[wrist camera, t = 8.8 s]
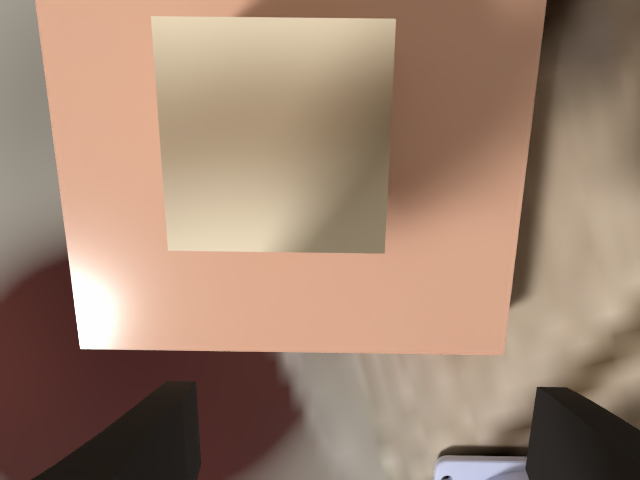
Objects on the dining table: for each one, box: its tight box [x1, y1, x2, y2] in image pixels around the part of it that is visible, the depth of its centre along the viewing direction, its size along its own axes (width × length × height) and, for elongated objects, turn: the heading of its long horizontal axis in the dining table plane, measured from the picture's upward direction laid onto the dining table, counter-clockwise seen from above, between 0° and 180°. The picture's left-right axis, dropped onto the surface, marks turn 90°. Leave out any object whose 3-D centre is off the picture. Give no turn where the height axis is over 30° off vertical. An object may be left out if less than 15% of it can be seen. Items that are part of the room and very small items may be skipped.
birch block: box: [151, 16, 396, 254], centre depth 13 cm, size 5×5×5 cm
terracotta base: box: [35, 0, 547, 355], centre depth 17 cm, size 15×15×2 cm
